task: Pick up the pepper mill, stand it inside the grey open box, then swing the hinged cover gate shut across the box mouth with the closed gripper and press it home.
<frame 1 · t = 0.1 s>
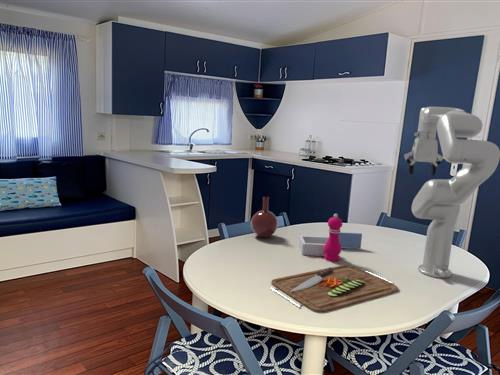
hand: (421, 174, 187), 37 cm above the table, tool pointing down, fingers open, 9 cm apart
pepper mill: (331, 259, 179), on the table
grey open box: (318, 251, 188), on the table
chopping board: (334, 288, 150), on the table
round-bottom flask: (263, 237, 206), on the table
cover gate: (347, 239, 194), point 4 cm above the table, hinge at 90.0°
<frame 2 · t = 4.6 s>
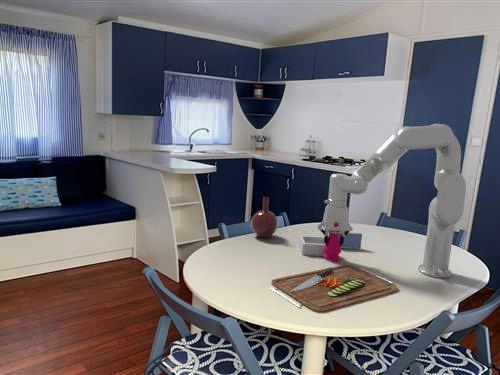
hand: (333, 244, 178), 7 cm above the table, tool pointing down, fingers closed on pepper mill, 5 cm apart
pepper mill: (331, 259, 179), on the table, touching gripper
everything else where it was.
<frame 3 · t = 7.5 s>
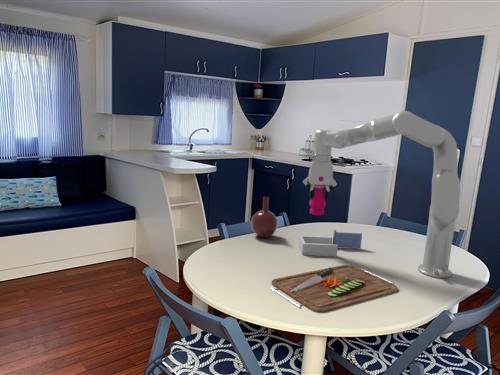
hand: (318, 199, 184), 24 cm above the table, tool pointing down, fingers closed on pepper mill, 5 cm apart
pepper mill: (316, 213, 185), point 17 cm above the table, touching gripper
everything else where it was.
when the fingers open (8 cm above the table, at t = 10.3 s): pepper mill drops 1 cm, resting in grey open box.
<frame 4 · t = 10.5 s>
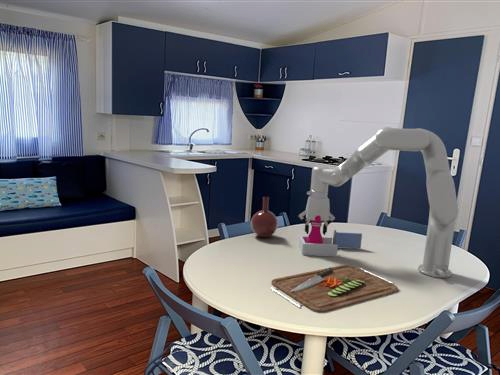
hand: (315, 233, 187), 8 cm above the table, tool pointing down, fingers open, 7 cm apart
pepper mill: (314, 251, 188), resting in grey open box
everything else where it was.
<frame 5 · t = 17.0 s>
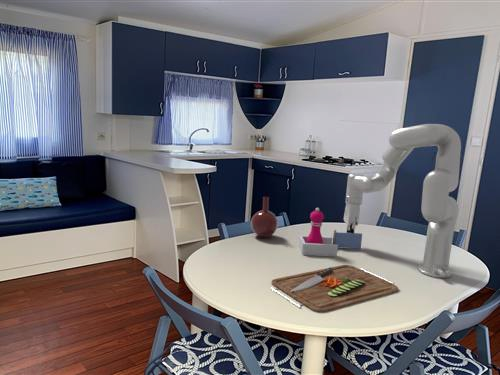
hand: (349, 238, 197), 4 cm above the table, tool pointing down, fingers closed
cover gate: (347, 239, 194), point 4 cm above the table, hinge at 88.0°, touching gripper
everything else where it was.
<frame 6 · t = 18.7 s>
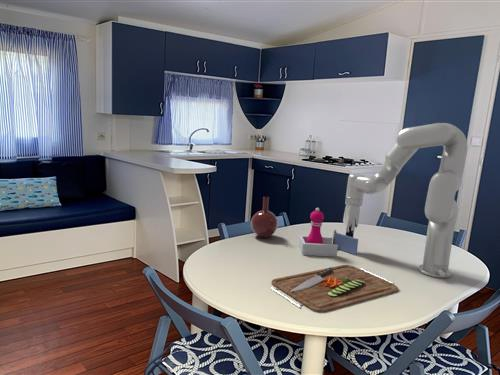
hand: (348, 240, 191), 5 cm above the table, tool pointing down, fingers closed
cover gate: (344, 241, 190), point 4 cm above the table, hinge at 39.8°, touching gripper
everything else where it was.
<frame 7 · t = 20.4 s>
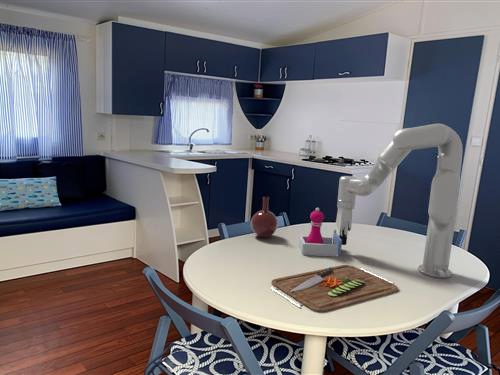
hand: (342, 244, 187), 4 cm above the table, tool pointing down, fingers closed
cover gate: (337, 242, 188), point 4 cm above the table, hinge at -0.3°, touching gripper
everything else where it was.
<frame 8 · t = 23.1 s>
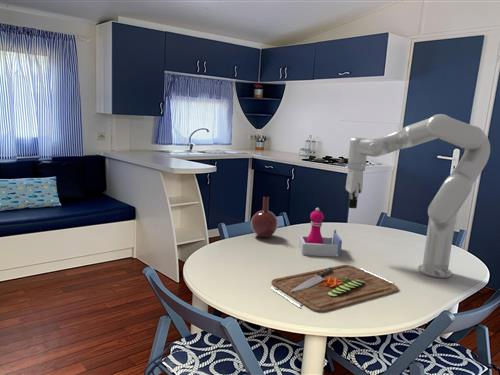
hand: (352, 207, 183), 21 cm above the table, tool pointing down, fingers closed
cover gate: (337, 242, 188), point 4 cm above the table, hinge at -0.3°
everything else where it was.
at the end: cover gate at +0° (first picture: +90°); pepper mill inside the target area on the grey open box (2.0 cm from its centre), point 0.0 cm above the grey open box's base; pepper mill tilted 0° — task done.
